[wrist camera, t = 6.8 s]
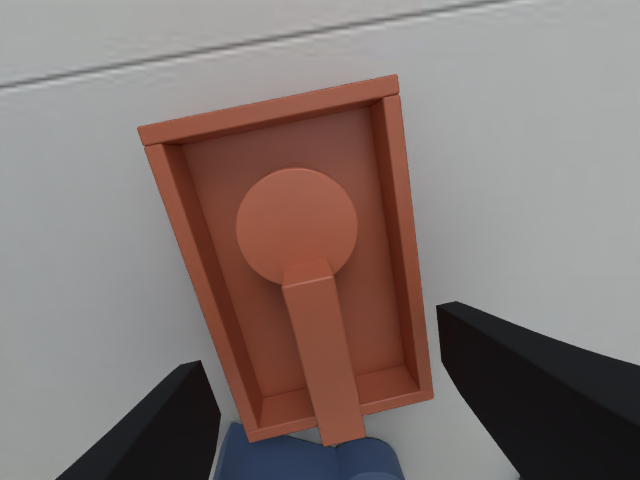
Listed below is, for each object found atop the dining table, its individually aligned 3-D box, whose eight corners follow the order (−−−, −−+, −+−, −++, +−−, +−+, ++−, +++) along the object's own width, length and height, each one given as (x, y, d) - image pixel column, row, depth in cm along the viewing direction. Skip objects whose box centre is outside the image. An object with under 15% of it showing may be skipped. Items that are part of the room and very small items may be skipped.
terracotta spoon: (375, 364, 12) (401, 429, 9) (289, 384, 12) (288, 457, 9) (338, 155, 10) (357, 155, 7) (230, 178, 10) (204, 188, 7)
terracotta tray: (414, 364, 13) (434, 399, 11) (255, 402, 13) (249, 443, 11) (378, 89, 10) (398, 73, 8) (165, 132, 9) (135, 127, 8)
